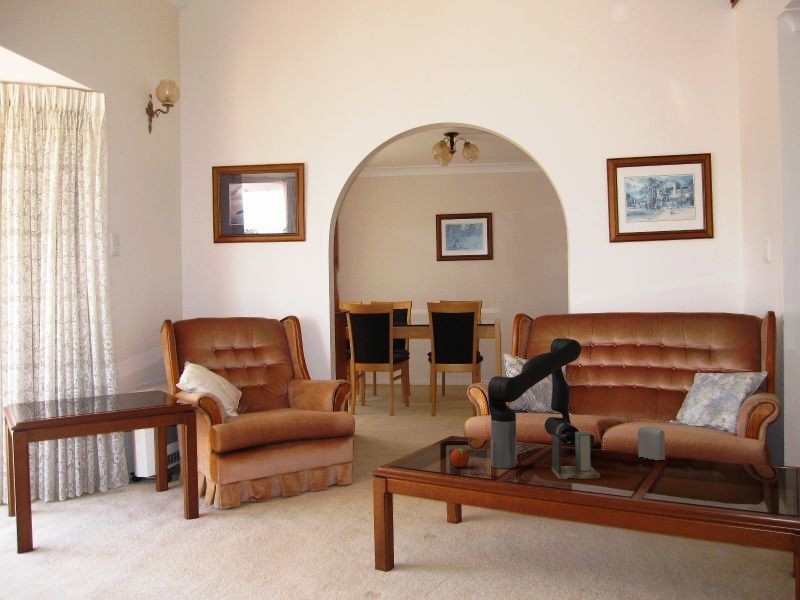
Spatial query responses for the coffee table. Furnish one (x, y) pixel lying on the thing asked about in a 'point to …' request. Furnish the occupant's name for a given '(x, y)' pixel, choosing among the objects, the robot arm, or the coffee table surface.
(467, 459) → the tomato
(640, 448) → the photo printer
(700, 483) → the coffee table surface
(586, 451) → the tall sage green prism
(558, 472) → the desktop book rack
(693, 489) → the coffee table surface
